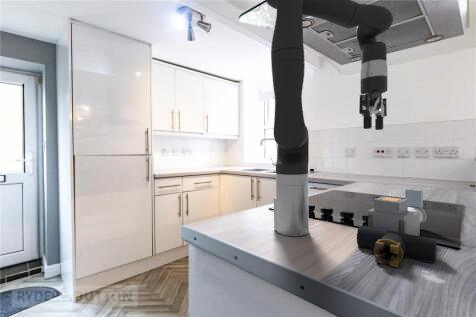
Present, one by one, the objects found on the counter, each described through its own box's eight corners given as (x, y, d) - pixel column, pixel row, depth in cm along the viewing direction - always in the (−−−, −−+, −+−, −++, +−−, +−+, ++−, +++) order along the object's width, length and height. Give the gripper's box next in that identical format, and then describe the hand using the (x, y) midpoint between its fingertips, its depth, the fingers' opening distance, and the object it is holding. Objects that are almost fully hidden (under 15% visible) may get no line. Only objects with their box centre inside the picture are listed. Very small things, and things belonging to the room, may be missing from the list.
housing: (368, 240, 66) (368, 199, 65) (385, 231, 73) (385, 193, 72) (403, 250, 59) (404, 204, 59) (419, 238, 66) (419, 197, 66)
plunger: (380, 210, 64) (380, 199, 64) (385, 207, 67) (385, 197, 67) (395, 212, 62) (395, 201, 62) (401, 210, 64) (401, 199, 64)
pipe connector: (432, 251, 46) (348, 234, 56) (432, 279, 47) (348, 257, 56) (436, 235, 55) (362, 223, 65) (435, 259, 55) (362, 243, 65)
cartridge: (388, 230, 71) (388, 193, 71) (403, 222, 78) (403, 188, 78) (413, 235, 67) (413, 195, 66) (426, 226, 74) (426, 190, 73)
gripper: (376, 70, 72) (376, 127, 73) (395, 78, 81) (395, 129, 82) (351, 76, 78) (351, 129, 78) (371, 83, 87) (371, 130, 87)
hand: (373, 129), depth 80 cm, fingers open, 8 cm apart
